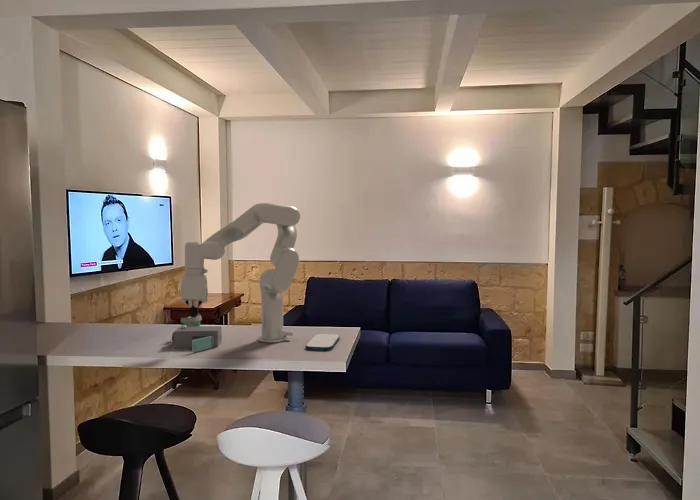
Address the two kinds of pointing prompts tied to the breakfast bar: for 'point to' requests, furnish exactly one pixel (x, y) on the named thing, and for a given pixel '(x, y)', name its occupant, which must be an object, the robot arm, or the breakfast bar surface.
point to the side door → (202, 343)
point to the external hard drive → (322, 342)
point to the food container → (191, 321)
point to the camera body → (195, 335)
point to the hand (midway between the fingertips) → (194, 316)
